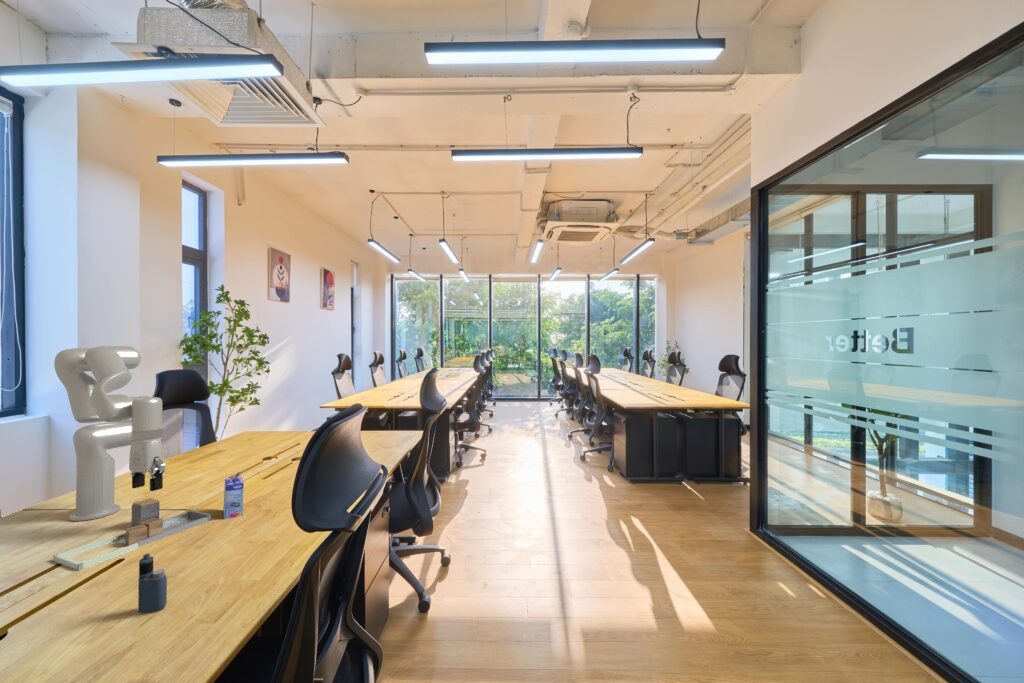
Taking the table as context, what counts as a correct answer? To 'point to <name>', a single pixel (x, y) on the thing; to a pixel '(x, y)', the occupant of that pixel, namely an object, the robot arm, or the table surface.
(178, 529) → the open rectangular box
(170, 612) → the table surface
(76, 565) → the tray
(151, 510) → the orange and gray block
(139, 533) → the brown cube
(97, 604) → the table surface
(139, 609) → the vaping device
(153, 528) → the tan cardboard cube
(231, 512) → the ink cartridge box
